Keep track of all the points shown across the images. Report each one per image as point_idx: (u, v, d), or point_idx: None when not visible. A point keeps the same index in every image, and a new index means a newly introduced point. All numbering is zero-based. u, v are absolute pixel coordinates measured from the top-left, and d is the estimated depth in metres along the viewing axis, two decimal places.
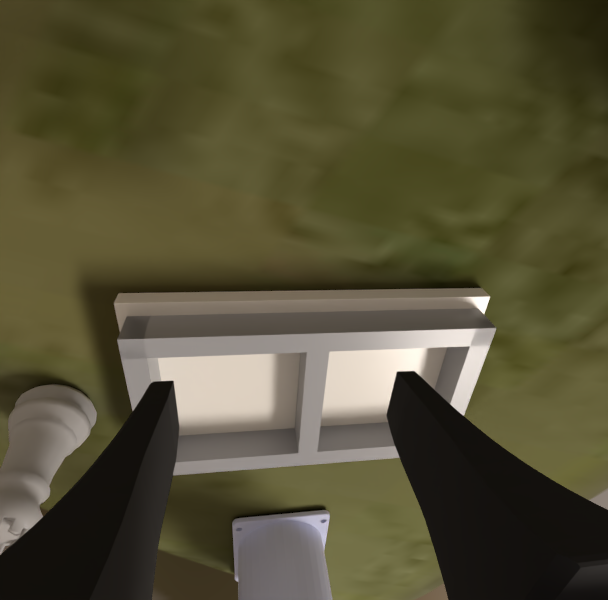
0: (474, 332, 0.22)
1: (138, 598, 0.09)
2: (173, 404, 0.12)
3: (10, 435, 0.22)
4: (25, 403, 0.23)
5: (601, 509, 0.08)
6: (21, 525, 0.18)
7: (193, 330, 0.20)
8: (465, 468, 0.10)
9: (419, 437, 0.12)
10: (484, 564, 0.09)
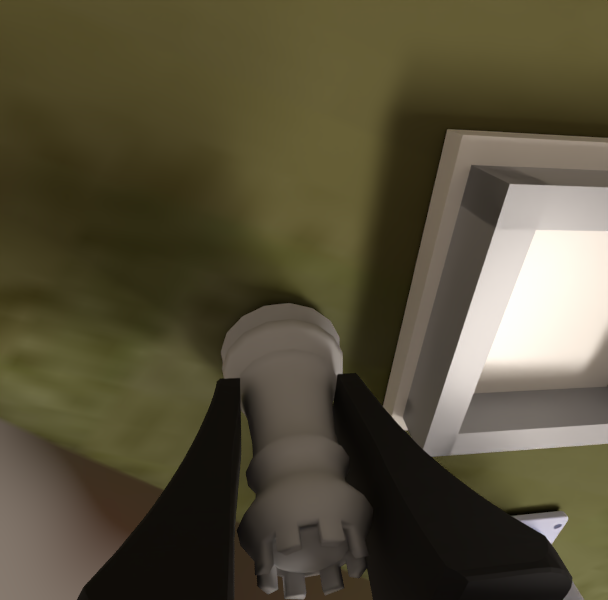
0: None
1: (232, 587, 0.09)
2: None
3: (243, 380, 0.13)
4: (263, 327, 0.13)
5: (510, 518, 0.08)
6: (364, 540, 0.09)
7: None
8: (385, 474, 0.09)
9: (353, 441, 0.12)
10: (398, 574, 0.09)
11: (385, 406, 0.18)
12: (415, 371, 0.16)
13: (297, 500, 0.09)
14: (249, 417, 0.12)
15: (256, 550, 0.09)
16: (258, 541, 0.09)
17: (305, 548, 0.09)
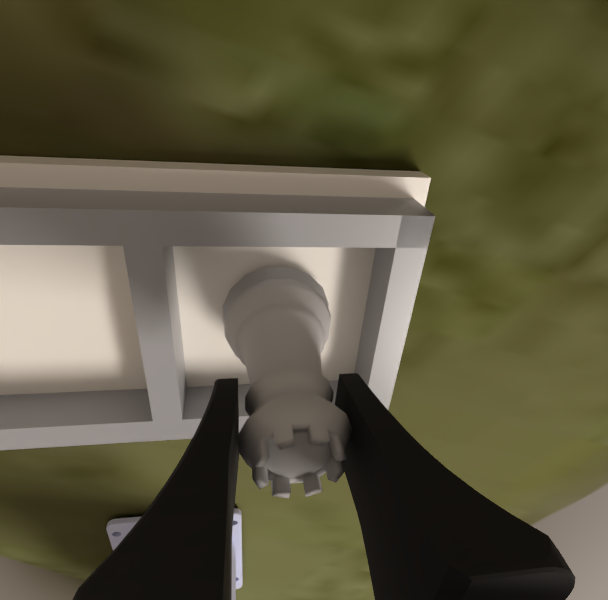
0: (400, 222, 0.14)
1: (229, 587, 0.09)
2: None
3: (244, 327, 0.15)
4: (265, 283, 0.15)
5: (513, 518, 0.08)
6: (343, 448, 0.11)
7: None
8: (387, 474, 0.09)
9: (355, 441, 0.12)
10: (400, 574, 0.09)
11: None
12: None
13: (292, 408, 0.11)
14: (248, 356, 0.14)
15: (254, 449, 0.11)
16: (257, 440, 0.11)
17: (295, 450, 0.11)
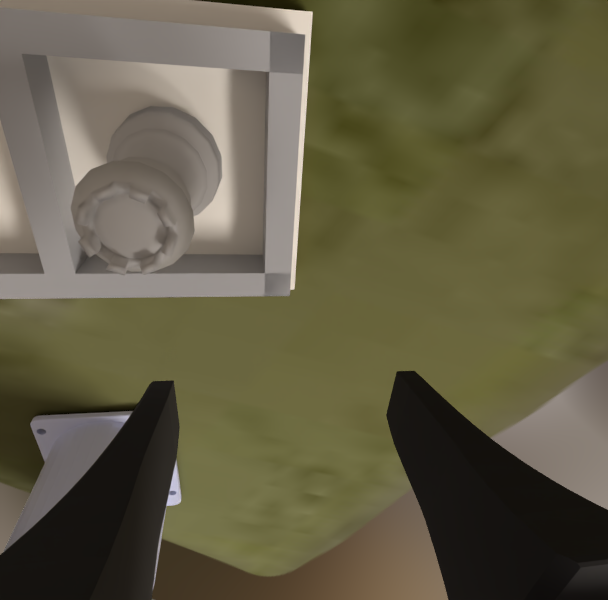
0: (269, 40, 0.14)
1: (138, 598, 0.09)
2: (173, 404, 0.12)
3: (117, 153, 0.15)
4: (142, 114, 0.15)
5: (601, 509, 0.08)
6: (174, 217, 0.11)
7: None
8: (465, 468, 0.10)
9: (419, 437, 0.12)
10: (484, 564, 0.09)
11: None
12: None
13: (117, 169, 0.11)
14: None
15: None
16: (82, 202, 0.11)
17: (123, 216, 0.11)
